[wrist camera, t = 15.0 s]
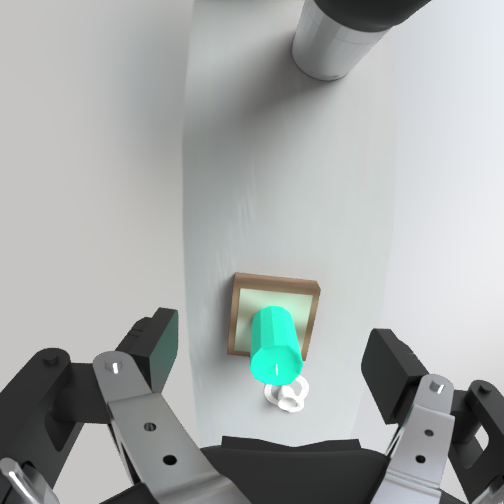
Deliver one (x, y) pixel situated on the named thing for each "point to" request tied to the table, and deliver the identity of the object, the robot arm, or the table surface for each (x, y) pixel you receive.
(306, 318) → the framed mirror
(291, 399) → the teacup and saucer
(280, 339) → the candle
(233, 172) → the table surface
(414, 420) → the robot arm
